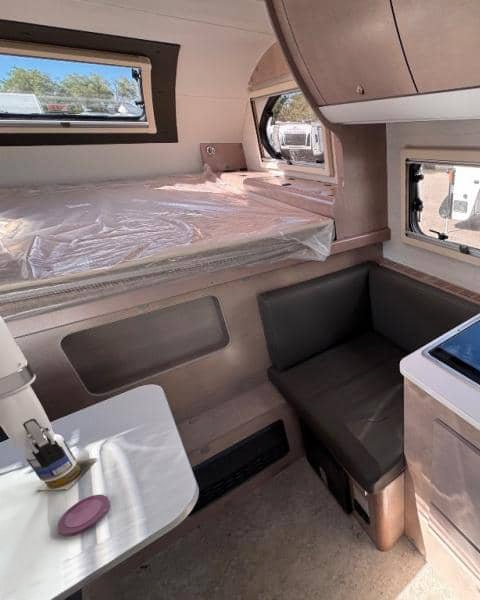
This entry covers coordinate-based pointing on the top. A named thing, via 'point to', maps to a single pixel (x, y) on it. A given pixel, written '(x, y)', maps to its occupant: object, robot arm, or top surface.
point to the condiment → (68, 476)
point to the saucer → (83, 515)
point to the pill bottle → (54, 469)
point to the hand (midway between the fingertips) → (47, 453)
